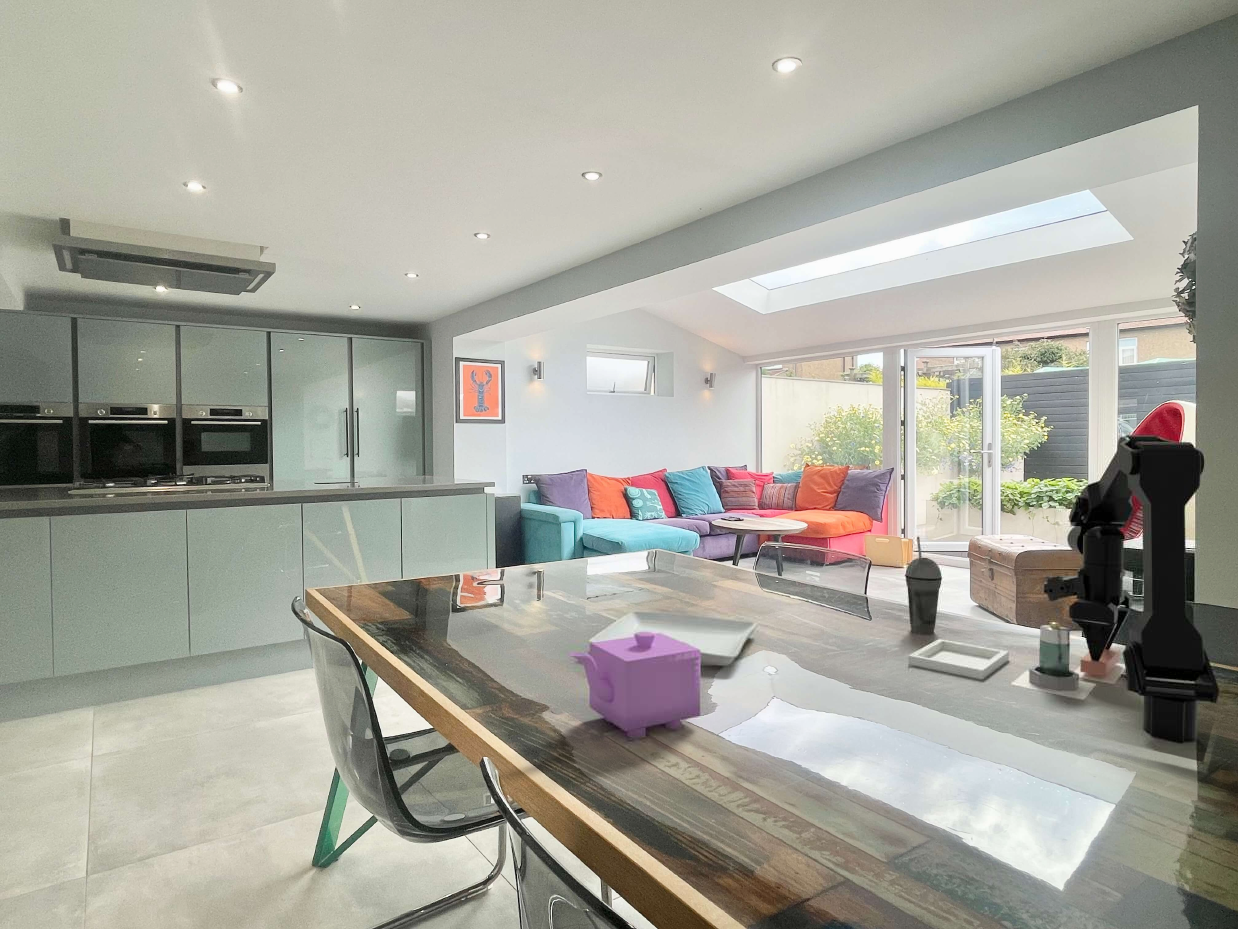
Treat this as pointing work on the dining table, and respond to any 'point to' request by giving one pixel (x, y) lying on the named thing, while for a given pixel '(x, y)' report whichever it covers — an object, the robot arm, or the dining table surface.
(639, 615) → the square plate
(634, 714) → the teapot
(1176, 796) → the dining table surface
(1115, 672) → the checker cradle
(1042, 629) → the silver cell
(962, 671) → the white rectangular tray
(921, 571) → the beverage cup
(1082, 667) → the bar
